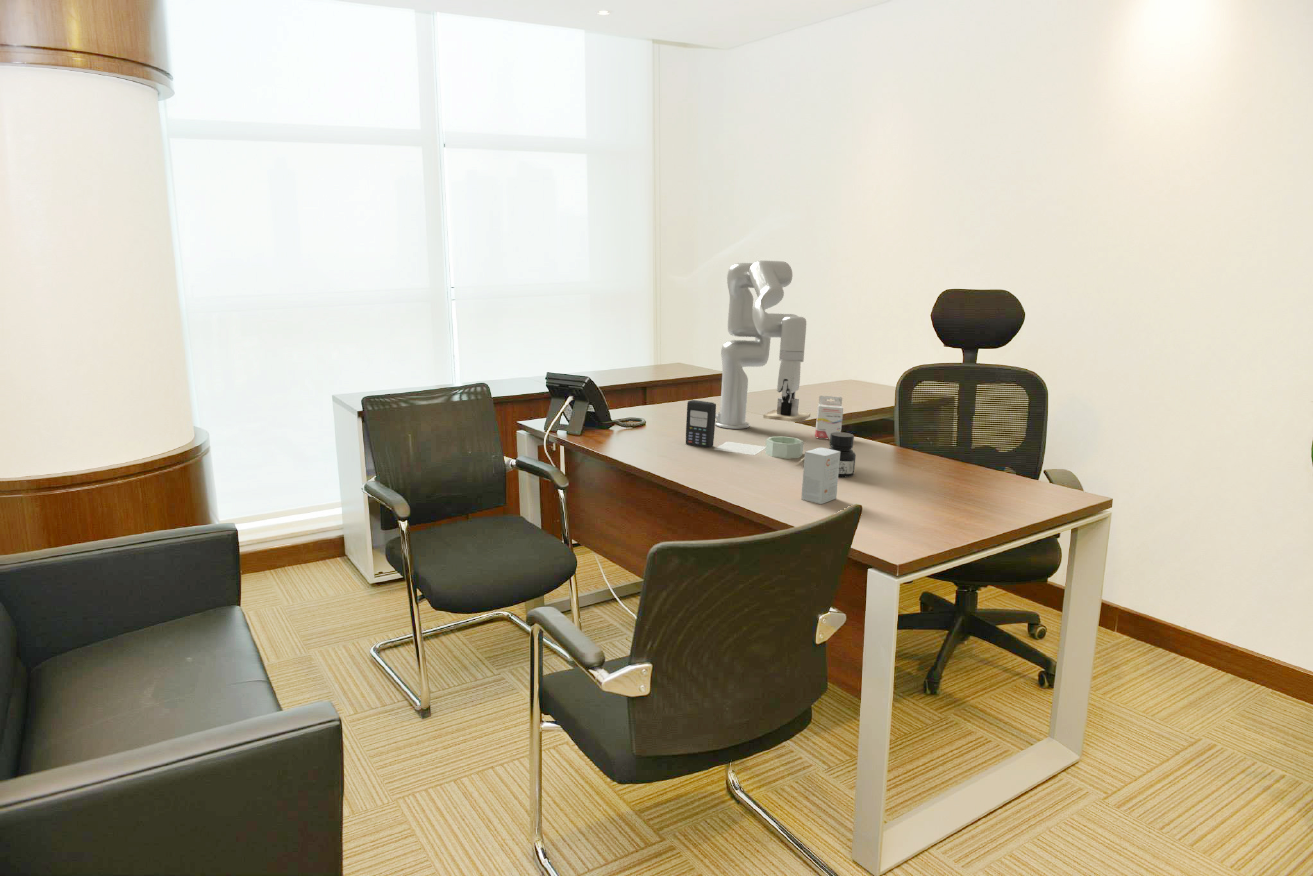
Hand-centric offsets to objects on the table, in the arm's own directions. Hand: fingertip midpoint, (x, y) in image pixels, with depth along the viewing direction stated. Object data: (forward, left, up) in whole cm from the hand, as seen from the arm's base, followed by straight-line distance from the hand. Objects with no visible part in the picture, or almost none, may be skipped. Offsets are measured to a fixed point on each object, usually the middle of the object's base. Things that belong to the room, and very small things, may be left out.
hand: (787, 413), depth 271 cm
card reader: (-28, -4, -14) cm, 31 cm away
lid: (0, 0, -1) cm, 1 cm away
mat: (-15, 0, -14) cm, 20 cm away
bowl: (0, 0, -14) cm, 14 cm away
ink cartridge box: (+6, +36, -14) cm, 39 cm away
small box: (+21, -44, -14) cm, 51 cm away
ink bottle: (+20, -14, -14) cm, 28 cm away
